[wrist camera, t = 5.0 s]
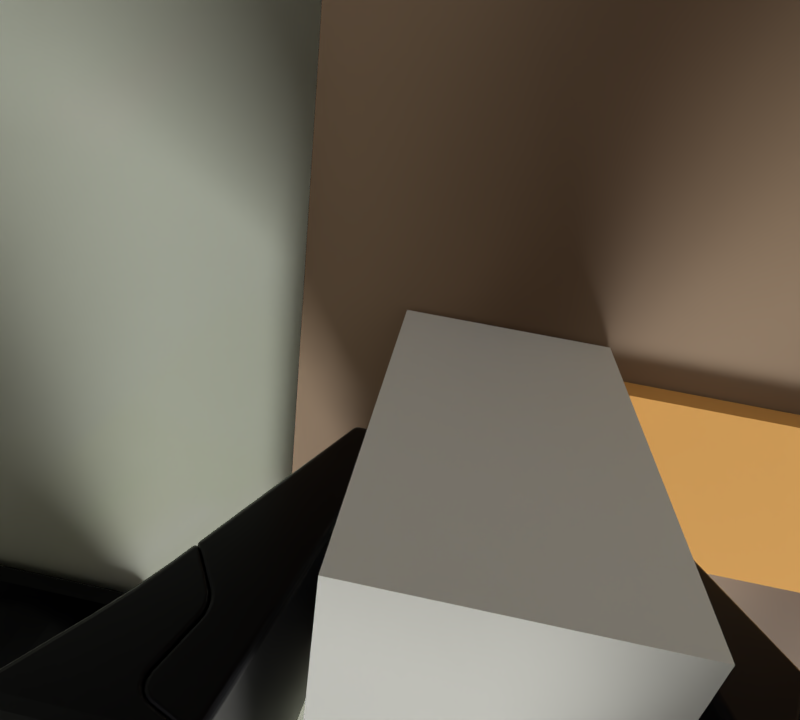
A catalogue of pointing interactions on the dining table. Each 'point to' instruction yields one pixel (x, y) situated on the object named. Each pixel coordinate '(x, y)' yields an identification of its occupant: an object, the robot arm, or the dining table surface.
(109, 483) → the dining table surface
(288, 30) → the dining table surface
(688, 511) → the bolt
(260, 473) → the dining table surface
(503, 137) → the board
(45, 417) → the dining table surface
